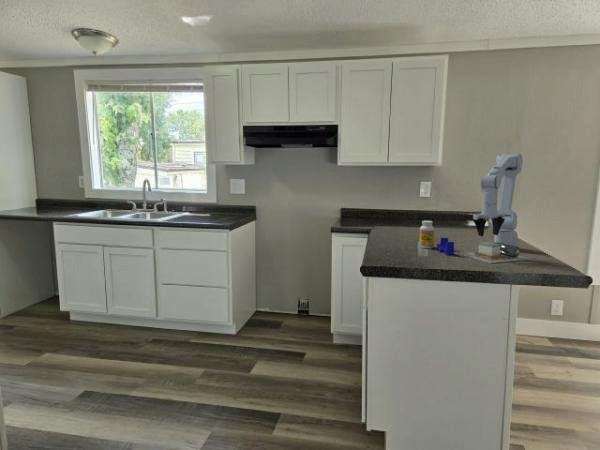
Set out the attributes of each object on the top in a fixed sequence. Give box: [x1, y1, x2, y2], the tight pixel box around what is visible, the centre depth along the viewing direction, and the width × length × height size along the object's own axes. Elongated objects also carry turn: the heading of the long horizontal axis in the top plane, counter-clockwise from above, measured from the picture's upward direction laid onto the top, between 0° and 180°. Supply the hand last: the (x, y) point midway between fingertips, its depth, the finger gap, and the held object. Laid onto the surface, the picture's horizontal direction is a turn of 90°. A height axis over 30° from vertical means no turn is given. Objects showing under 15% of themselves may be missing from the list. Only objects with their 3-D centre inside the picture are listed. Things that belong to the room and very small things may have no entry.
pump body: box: [477, 241, 500, 256], centre depth 168 cm, size 4×7×5 cm, turn 21°
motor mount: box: [463, 242, 528, 264], centre depth 169 cm, size 18×16×5 cm
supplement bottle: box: [418, 220, 435, 249], centre depth 192 cm, size 7×7×13 cm
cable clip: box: [436, 237, 455, 256], centre depth 181 cm, size 12×4×6 cm, turn 173°
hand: (488, 235), depth 170 cm, fingers open, 7 cm apart
